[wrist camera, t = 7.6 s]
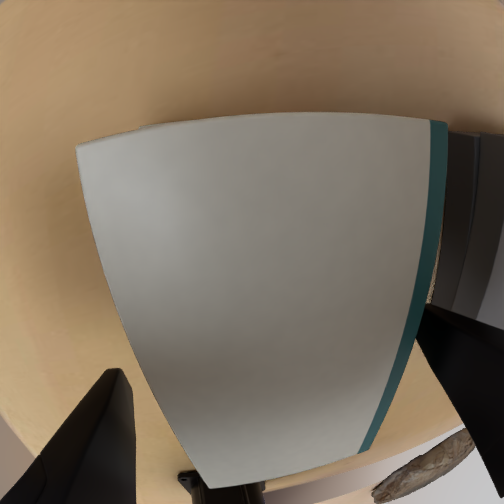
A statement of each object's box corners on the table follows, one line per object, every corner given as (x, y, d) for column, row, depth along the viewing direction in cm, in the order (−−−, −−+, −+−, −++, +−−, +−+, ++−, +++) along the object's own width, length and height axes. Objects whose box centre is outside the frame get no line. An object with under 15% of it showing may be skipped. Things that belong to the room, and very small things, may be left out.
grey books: (482, 309, 16) (512, 335, 13) (412, 340, 15) (446, 379, 12) (514, 136, 11) (559, 149, 8) (445, 121, 10) (508, 131, 7)
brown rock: (487, 408, 31) (403, 459, 26) (502, 426, 26) (418, 486, 22) (448, 450, 37) (365, 494, 32) (459, 467, 32) (376, 515, 28)
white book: (353, 419, 11) (368, 450, 10) (204, 453, 10) (209, 489, 9) (397, 117, 6) (449, 122, 4) (105, 139, 5) (72, 145, 4)
